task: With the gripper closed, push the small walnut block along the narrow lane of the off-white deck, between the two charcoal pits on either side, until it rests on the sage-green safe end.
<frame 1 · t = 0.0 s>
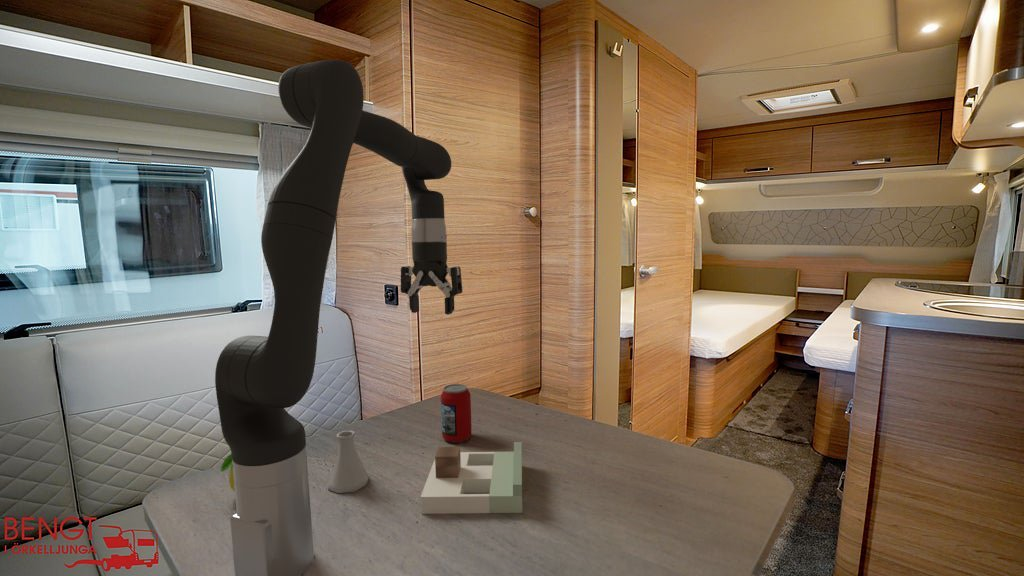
hand: (432, 313, 107), 29 cm above the table, tool pointing down, fingers open, 8 cm apart
beverage can: (457, 439, 111), on the table
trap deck: (473, 487, 89), on the table
flask: (348, 485, 91), on the table
walnut block: (448, 472, 89), point 3 cm above the table, touching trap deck
lemon: (249, 495, 88), on the table
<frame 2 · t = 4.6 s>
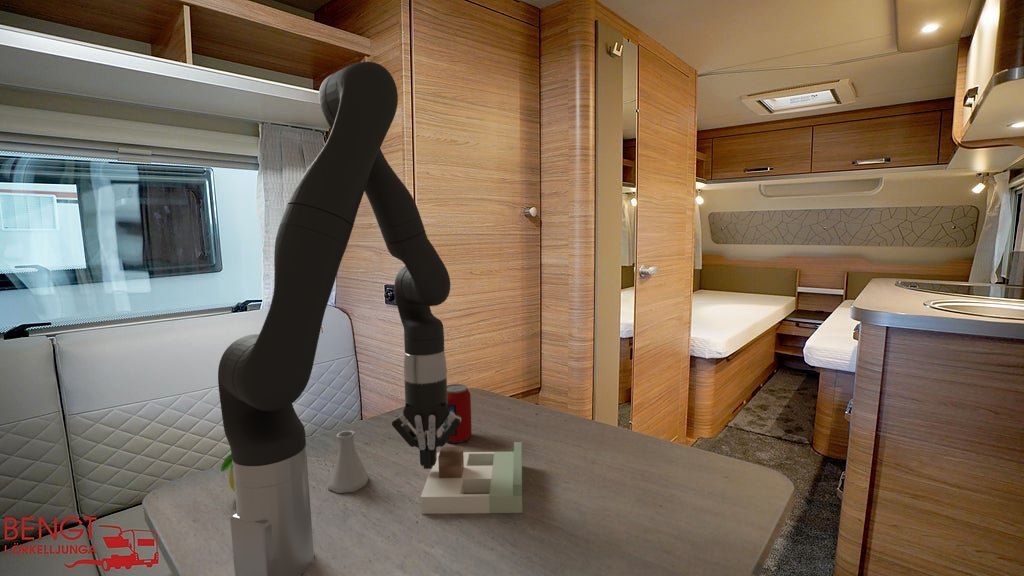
hand: (428, 466, 89), 4 cm above the table, tool pointing down, fingers closed
walnut block: (451, 472, 89), point 3 cm above the table, touching gripper, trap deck
everything else where it was.
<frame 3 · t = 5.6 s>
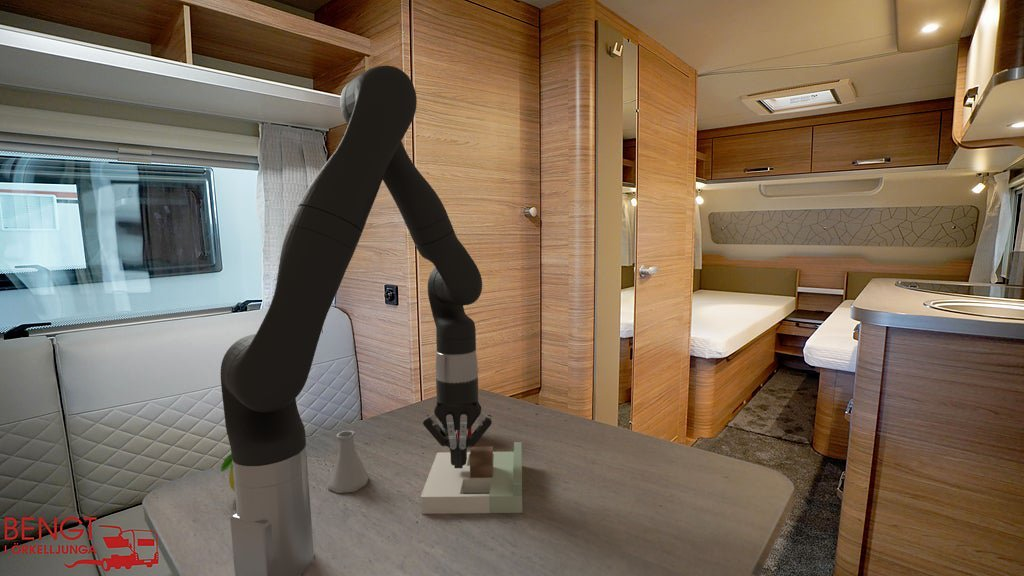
hand: (459, 466, 89), 4 cm above the table, tool pointing down, fingers closed
walnut block: (482, 472, 89), point 3 cm above the table, touching gripper
everything else where it was.
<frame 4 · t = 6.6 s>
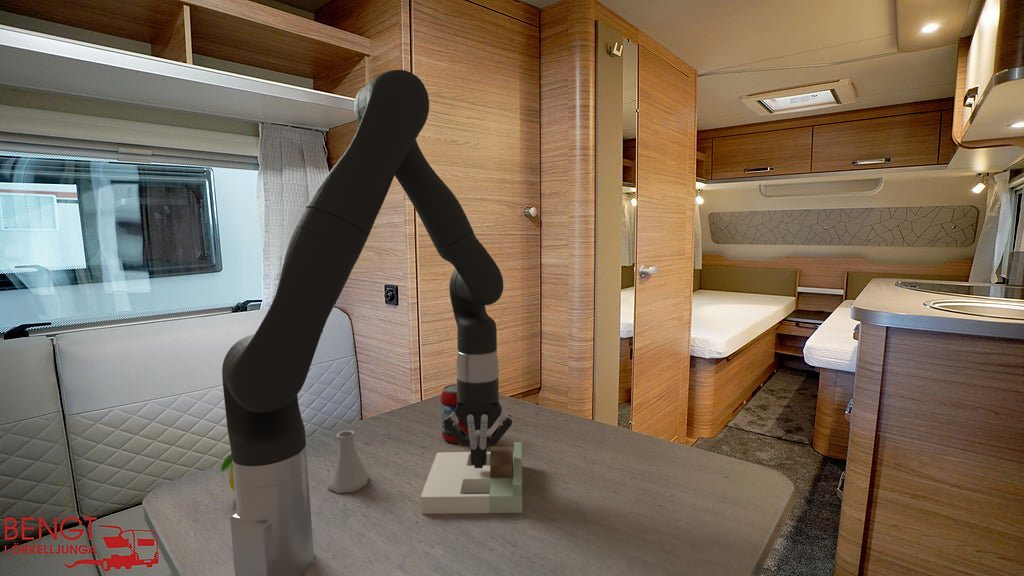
hand: (479, 466, 89), 4 cm above the table, tool pointing down, fingers closed
walnut block: (502, 472, 88), point 3 cm above the table, touching gripper, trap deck
everything else where it was.
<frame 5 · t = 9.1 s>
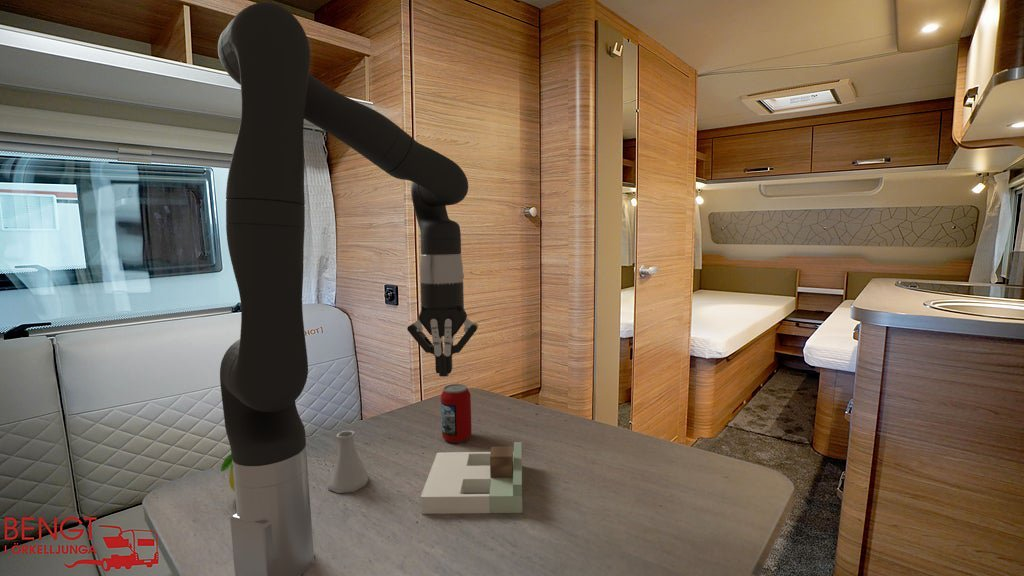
hand: (444, 375, 87), 21 cm above the table, tool pointing down, fingers closed
walnut block: (502, 472, 88), point 3 cm above the table, touching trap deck
everything else where it was.
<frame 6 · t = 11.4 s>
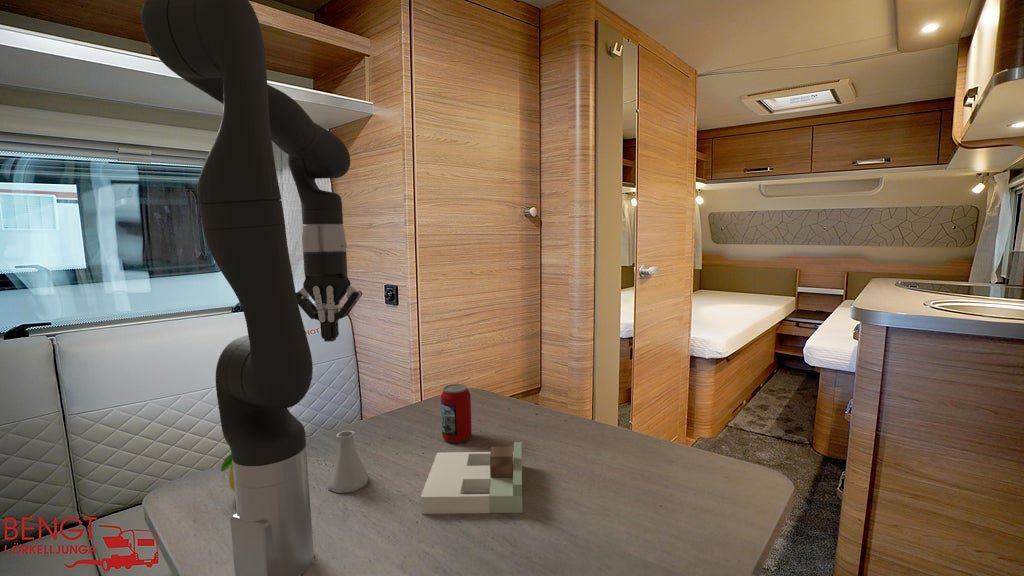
hand: (330, 340, 92), 27 cm above the table, tool pointing down, fingers closed
nothing on the table moved.
at the end: walnut block 0.4 cm from the target spot, point 3.0 cm above the table; walnut block tilted 0° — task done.
